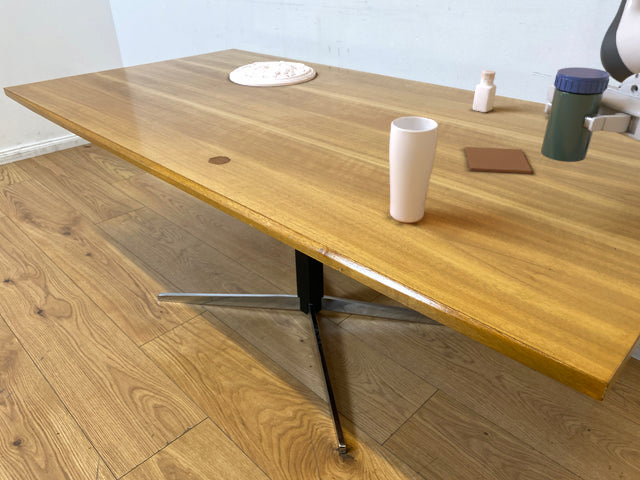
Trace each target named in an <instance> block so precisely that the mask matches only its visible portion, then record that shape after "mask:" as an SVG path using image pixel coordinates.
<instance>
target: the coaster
mask: <svg viewBox="0 0 640 480" xmlns="http://www.w3.org/2000/svg"><path fill="white" fill-rule="evenodd" d="M464 151H465V153H466V158H467V162H468V167H469V171H471V172H489V173H490V172H491V173H505V174H506V173H507V174H510V173H511V174H526V175H528V174H529V175H532V173H533V169H532V167H531V166H530V164H529V162H528V160H527V158H526V155H525V154H524V151H523V149H521V148H520V149H519V148H499V147H498V148H497V147H478V146H477V147H476V146H475V147H473V146H465V149H464Z"/></svg>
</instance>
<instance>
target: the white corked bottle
mask: <svg viewBox="0 0 640 480" xmlns="http://www.w3.org/2000/svg"><path fill="white" fill-rule="evenodd" d="M495 79H496V71H495V70H491V69H485V70H482V71H481V73H480V83H478V84H476V86H475V90H474V96H473V102H472V110H473V111H477V112H481V113H487V112H490V111H492V110H493V109H494V103H495V99H496V98H495V97H496V92H497V85H496V84H494V81H495Z"/></svg>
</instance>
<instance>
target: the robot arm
mask: <svg viewBox="0 0 640 480" xmlns="http://www.w3.org/2000/svg"><path fill="white" fill-rule="evenodd" d="M599 57H600V63H601V65H602V68H603V69H604V71H606V72H608V73H609V74H610V77H611V78H612V79H613V80H615V81H616V82H618V83H620V84H619V86H614V85H611V84H608V86H607V89H606V90H605V91H604V94H603V97H602V101H601V105H600V108H599V112H598V114H593V115H588V116H586V117H585V119H584V122H585V123H584V124H583V128H584V129H586V130H589V131H591V132H593V133H596V132H600V131H601V132H609V133H616V134H618V135H621V136H624V137H626V138H629V139H631V140H635V141H637V142H639V143H640V0H621V1H620V4H619V6H618V9H617V12H616V14H615V16H614V17H613V20H612V21H611V23H610V25H609V26H608V28H607V30H606V32H605V33H604V36H603V38H602V41H601V45H600V51H599ZM554 83H555V81H554V82H553V83H551V84H550V85H549V87H548V90H547V95H546V100H545V107H544V111H543V112H544V114H546V115H549V112H550V108H551V104H552V99H553V95H554V90H555V86H554Z"/></svg>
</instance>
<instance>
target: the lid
mask: <svg viewBox="0 0 640 480" xmlns="http://www.w3.org/2000/svg"><path fill="white" fill-rule="evenodd" d="M610 77H611V76H610V74H609V73H608V72H606V70H602V69H597V68H590V67H564V68H560V69H558V70H557V73H556V75H555V78H554V82H555V83H554V82H553V83H554V86H555V87H556V88H557V89H559V90H563V91H567V92H573V93H583V94H592V93H600V92H604V91H605V90H606V89H607V86H608V85H609V82H610Z"/></svg>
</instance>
